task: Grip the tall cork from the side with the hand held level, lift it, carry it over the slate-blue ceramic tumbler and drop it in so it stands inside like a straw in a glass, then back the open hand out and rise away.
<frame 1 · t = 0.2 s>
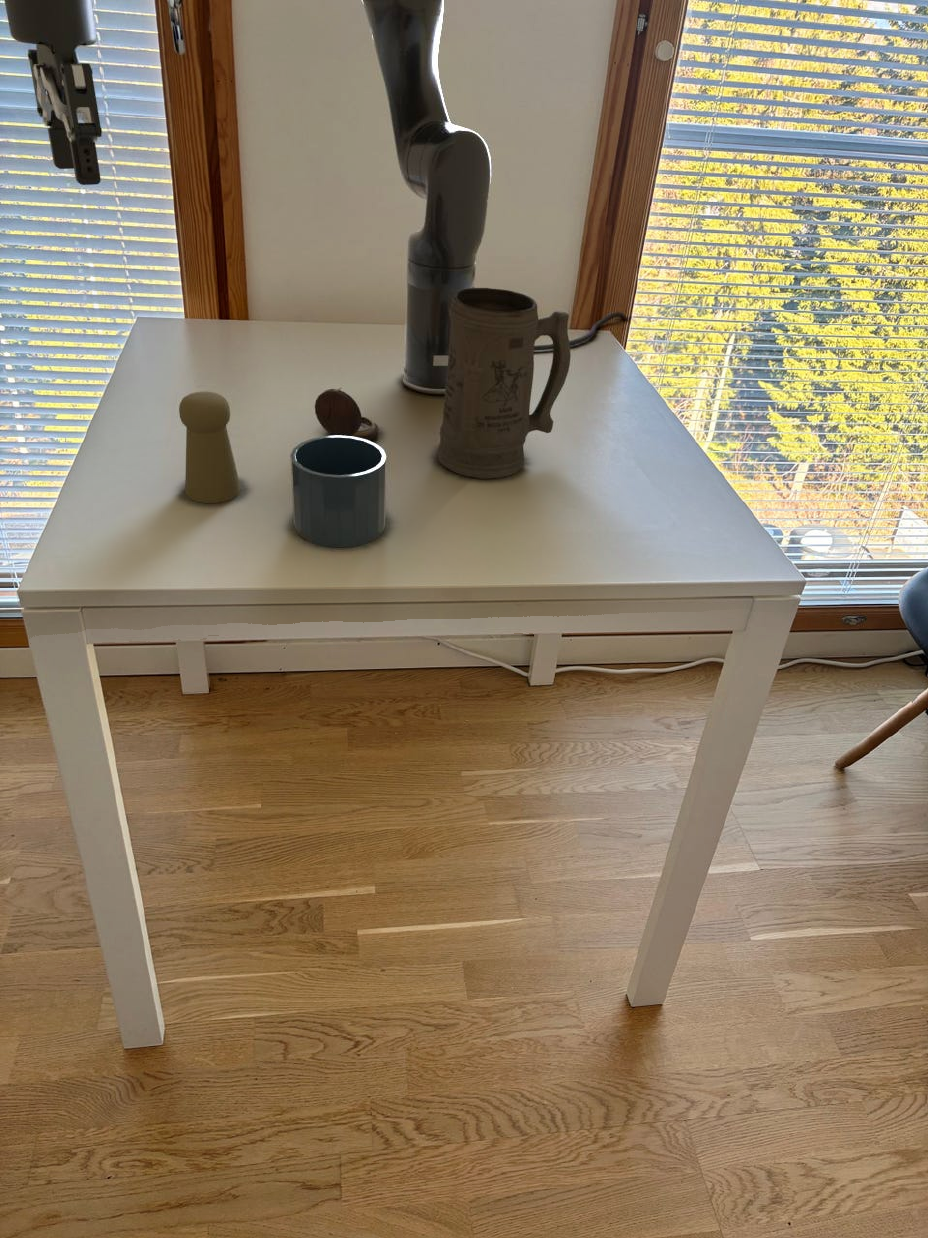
hand: (77, 175, 92), 29 cm above the table, tool pointing down, fingers open, 8 cm apart
beer stein: (497, 458, 112), on the table
cork: (213, 491, 101), on the table
tumbler: (339, 524, 96), on the table
compass: (344, 435, 115), on the table
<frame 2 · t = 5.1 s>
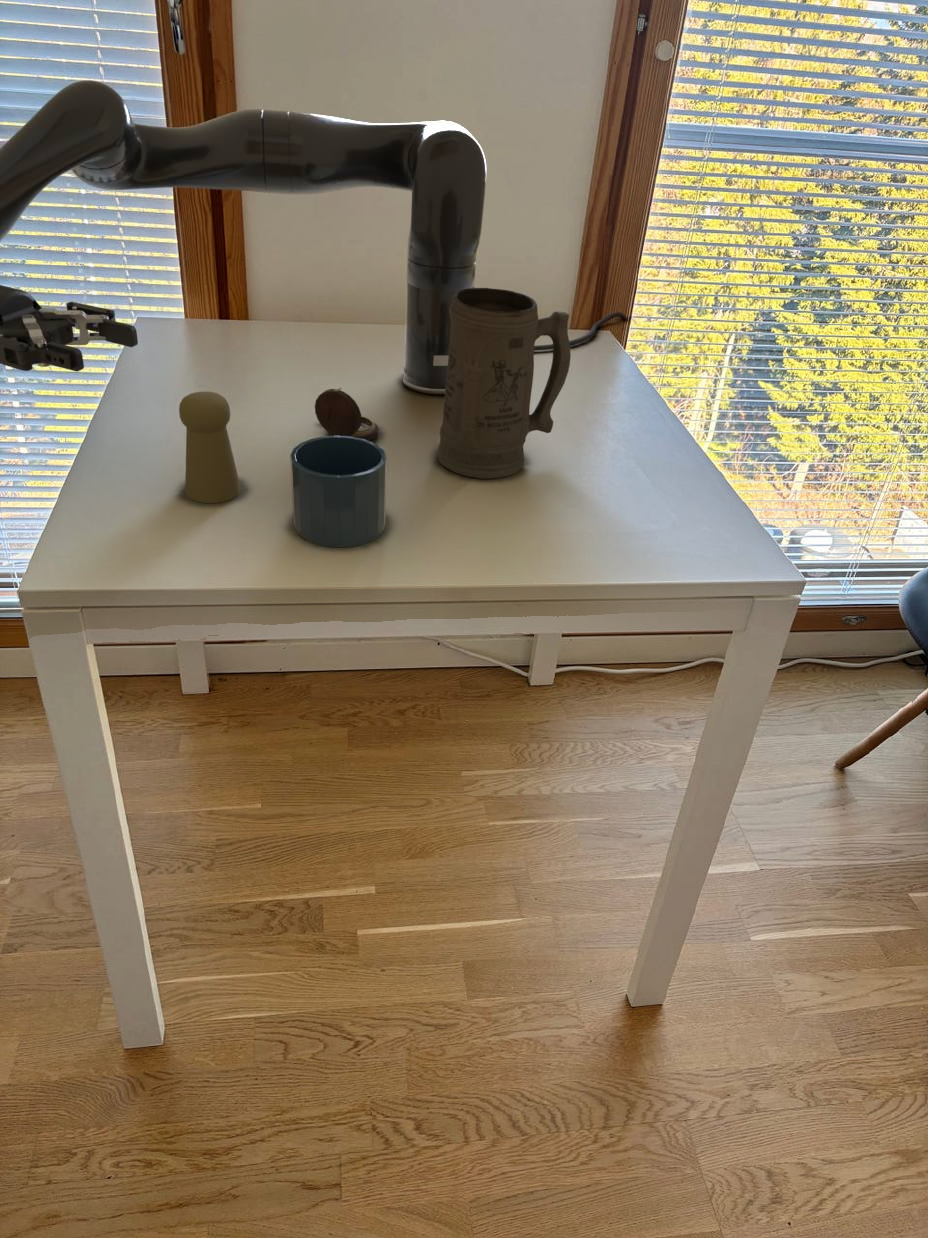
hand: (109, 348, 95), 14 cm above the table, tool horizontal, fingers open, 8 cm apart
nothing on the table moved.
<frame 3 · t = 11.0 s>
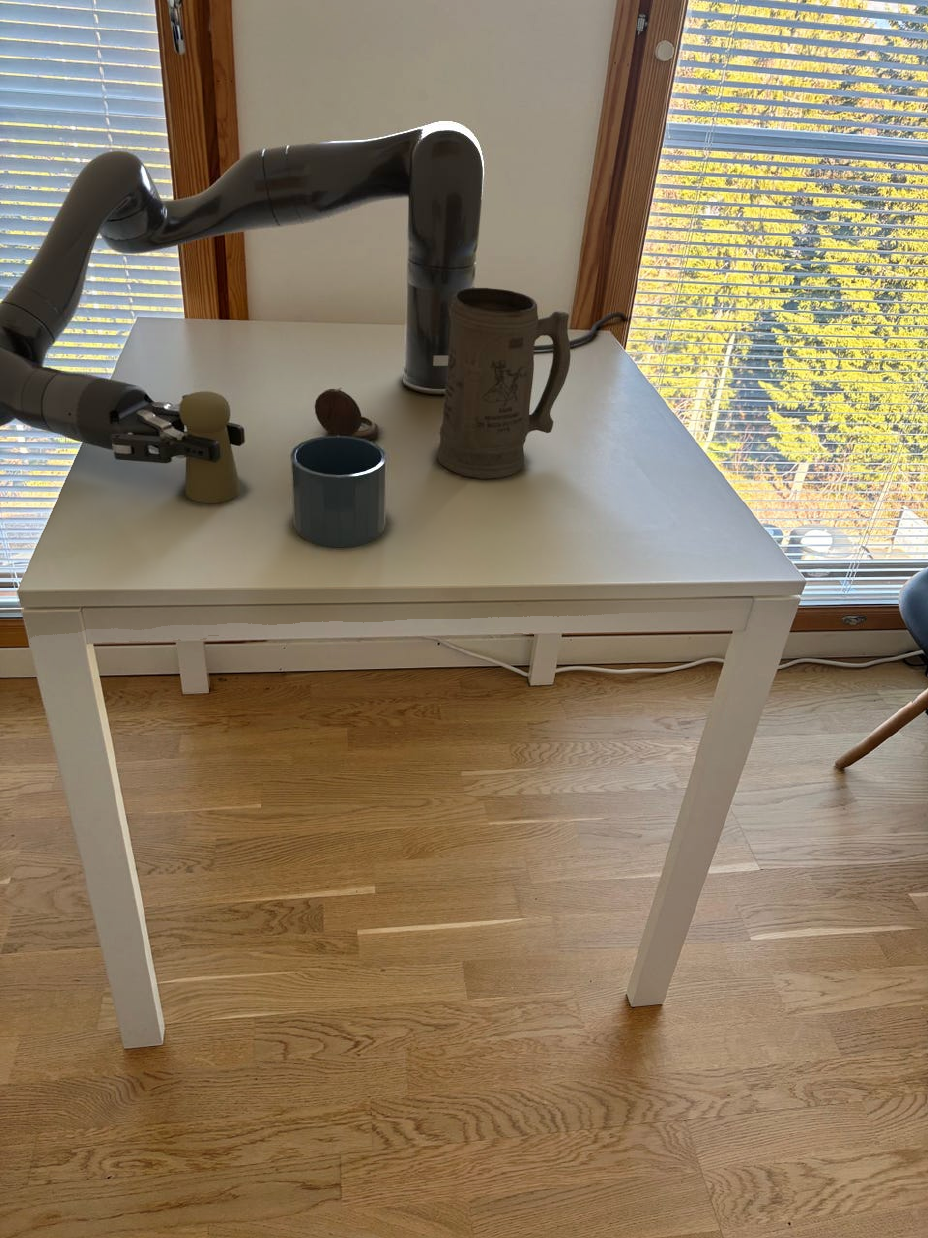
hand: (230, 443, 96), 6 cm above the table, tool horizontal, fingers closed on cork, 4 cm apart
cork: (213, 491, 101), on the table, touching gripper
everything else where it was.
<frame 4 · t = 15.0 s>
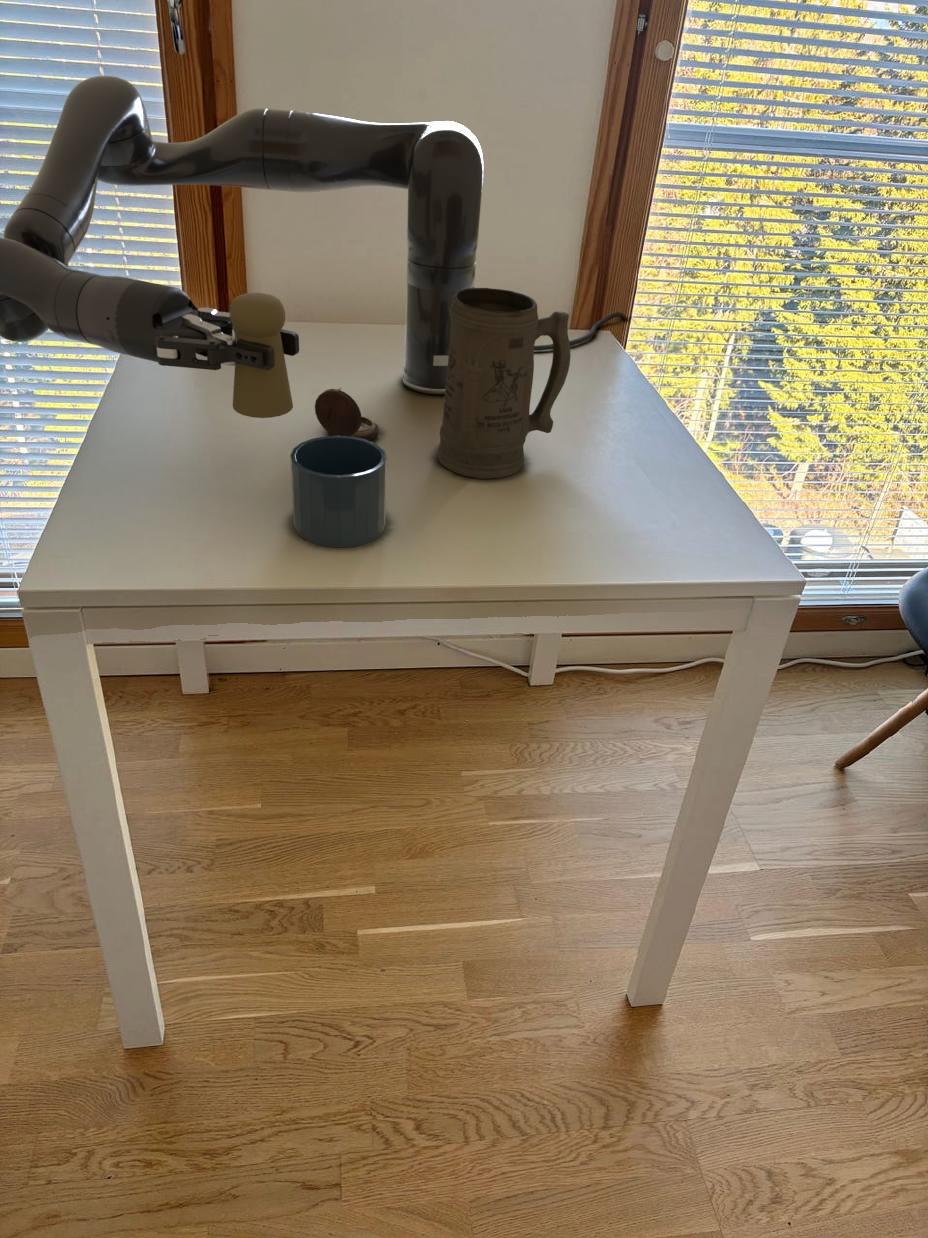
hand: (284, 351, 88), 18 cm above the table, tool horizontal, fingers closed on cork, 4 cm apart
cork: (263, 407, 92), point 11 cm above the table, touching gripper
everything else where it was.
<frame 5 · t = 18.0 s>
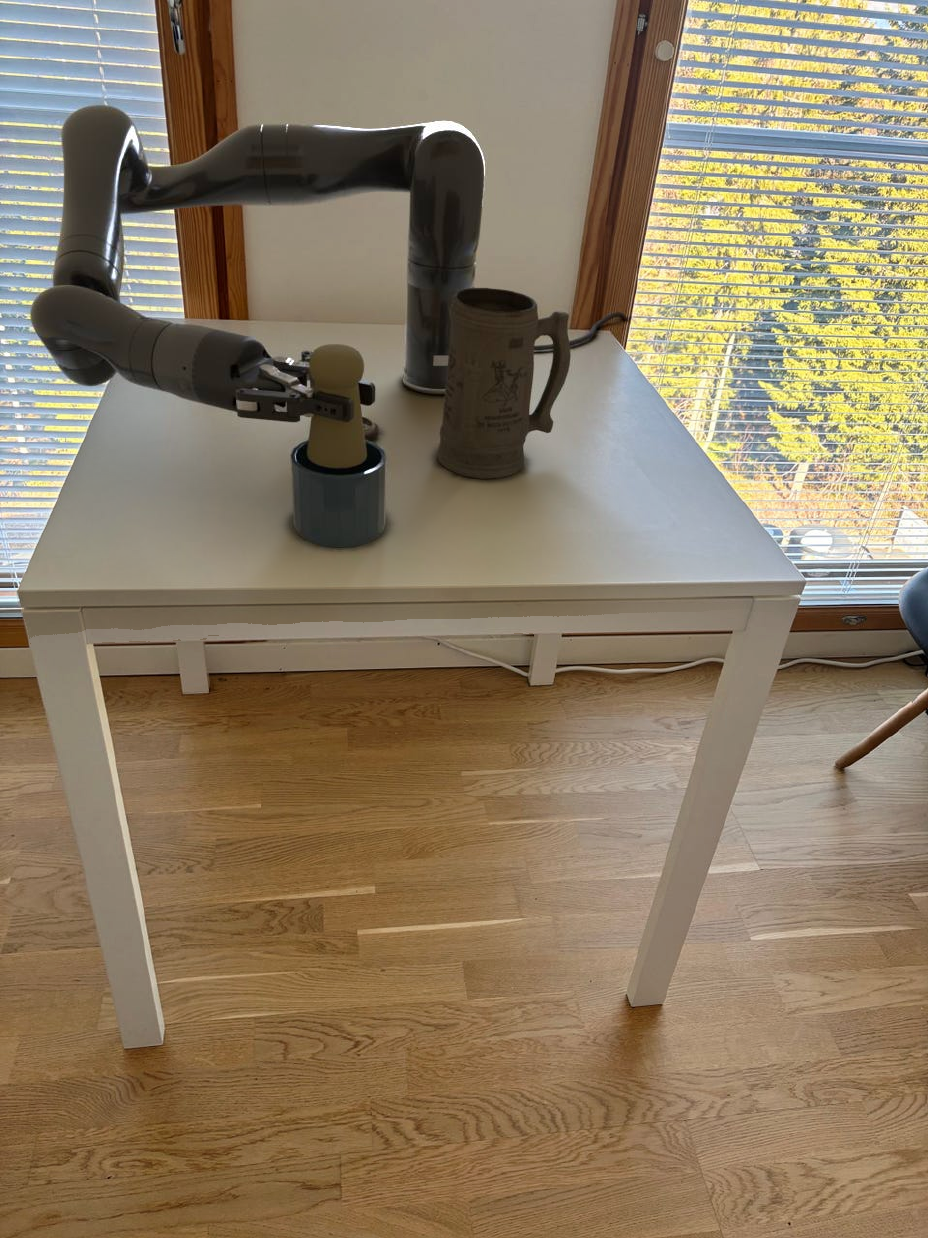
hand: (362, 402, 87), 14 cm above the table, tool horizontal, fingers closed on cork, 4 cm apart
cork: (337, 456, 92), point 8 cm above the table, touching gripper
everything else where it was.
when the fingers open (11 cm above the table, at t = 19.4 s): cork drops 3 cm, resting on tumbler.
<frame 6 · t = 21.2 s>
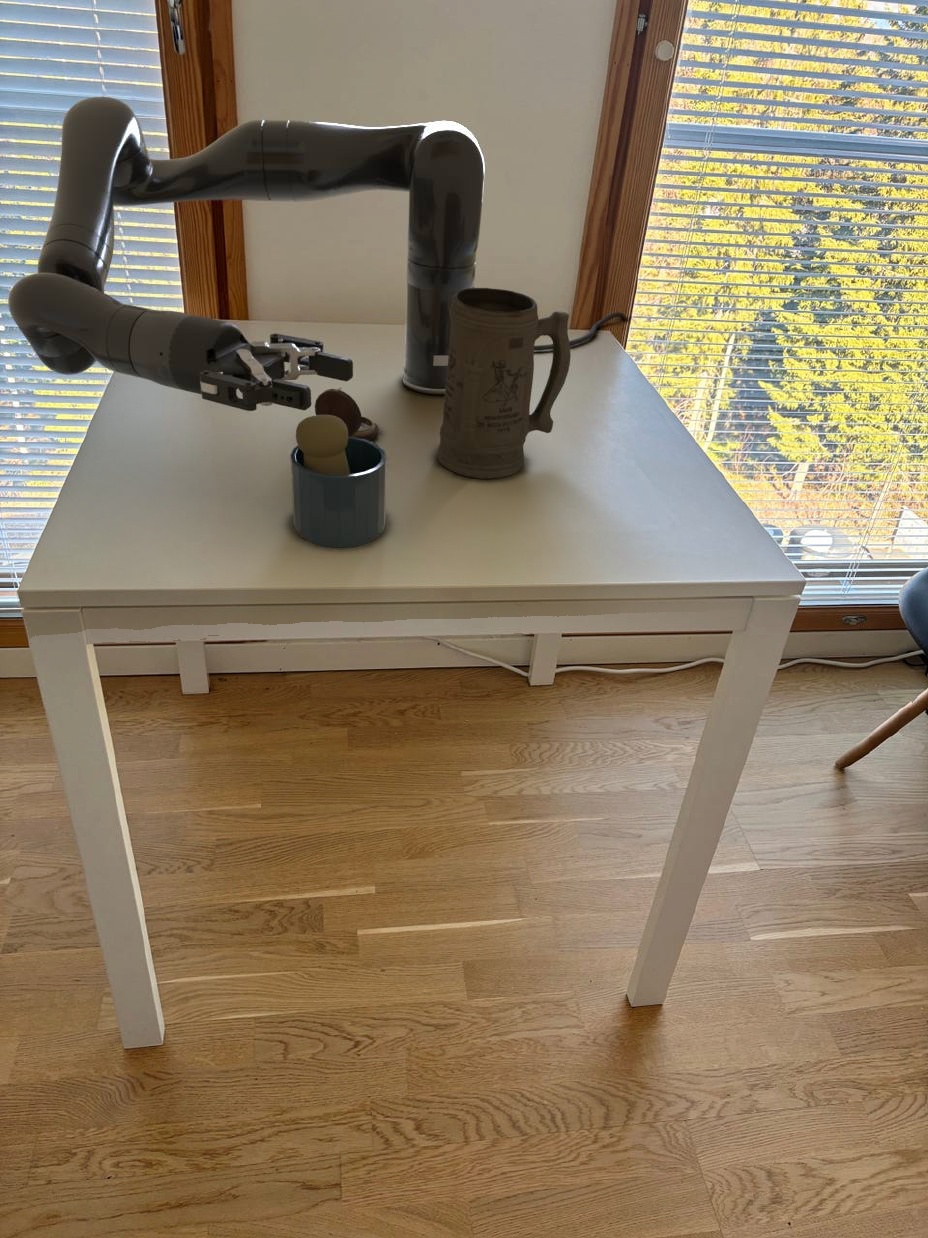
hand: (331, 384, 88), 15 cm above the table, tool horizontal, fingers open, 8 cm apart
cork: (332, 520, 95), point 1 cm above the table, touching tumbler
everything else where it was.
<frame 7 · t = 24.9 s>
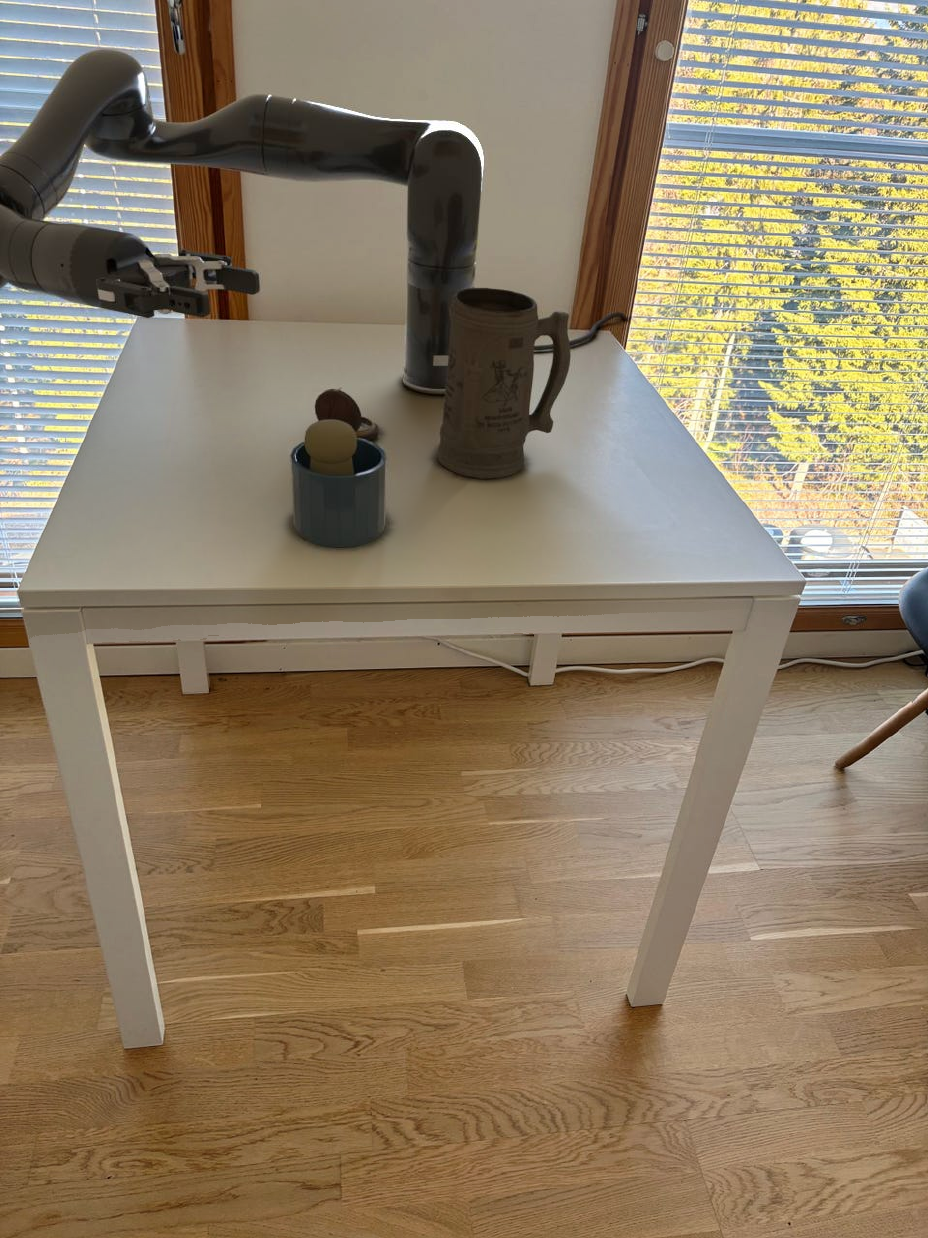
hand: (233, 293, 86), 22 cm above the table, tool horizontal, fingers open, 8 cm apart
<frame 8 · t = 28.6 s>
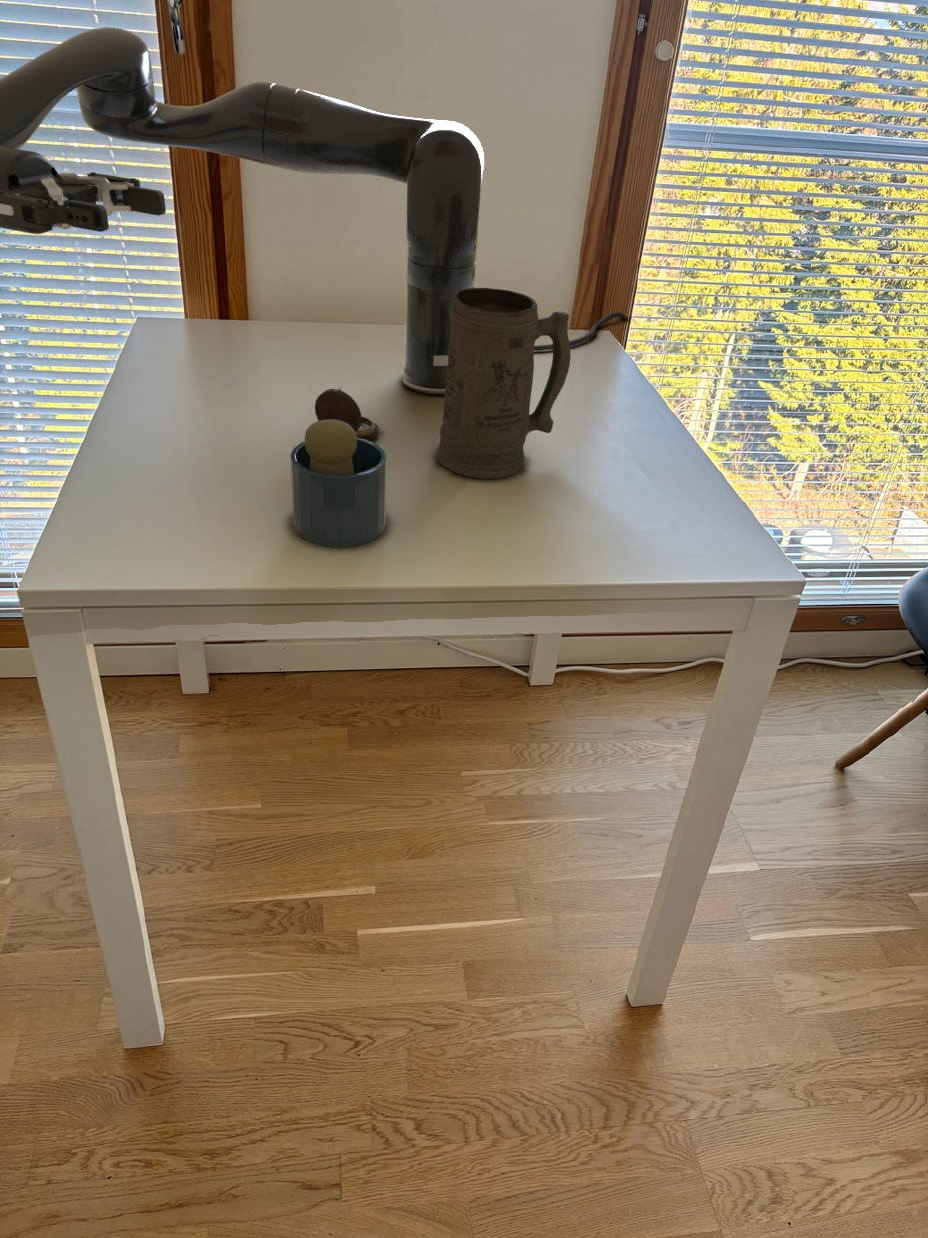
hand: (135, 210, 86), 28 cm above the table, tool horizontal, fingers open, 8 cm apart
nothing on the table moved.
at the end: cork 1.0 cm off-centre in the tumbler, point 0.4 cm above the tumbler's base; cork tilted 0°; the gripper is holding nothing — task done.
